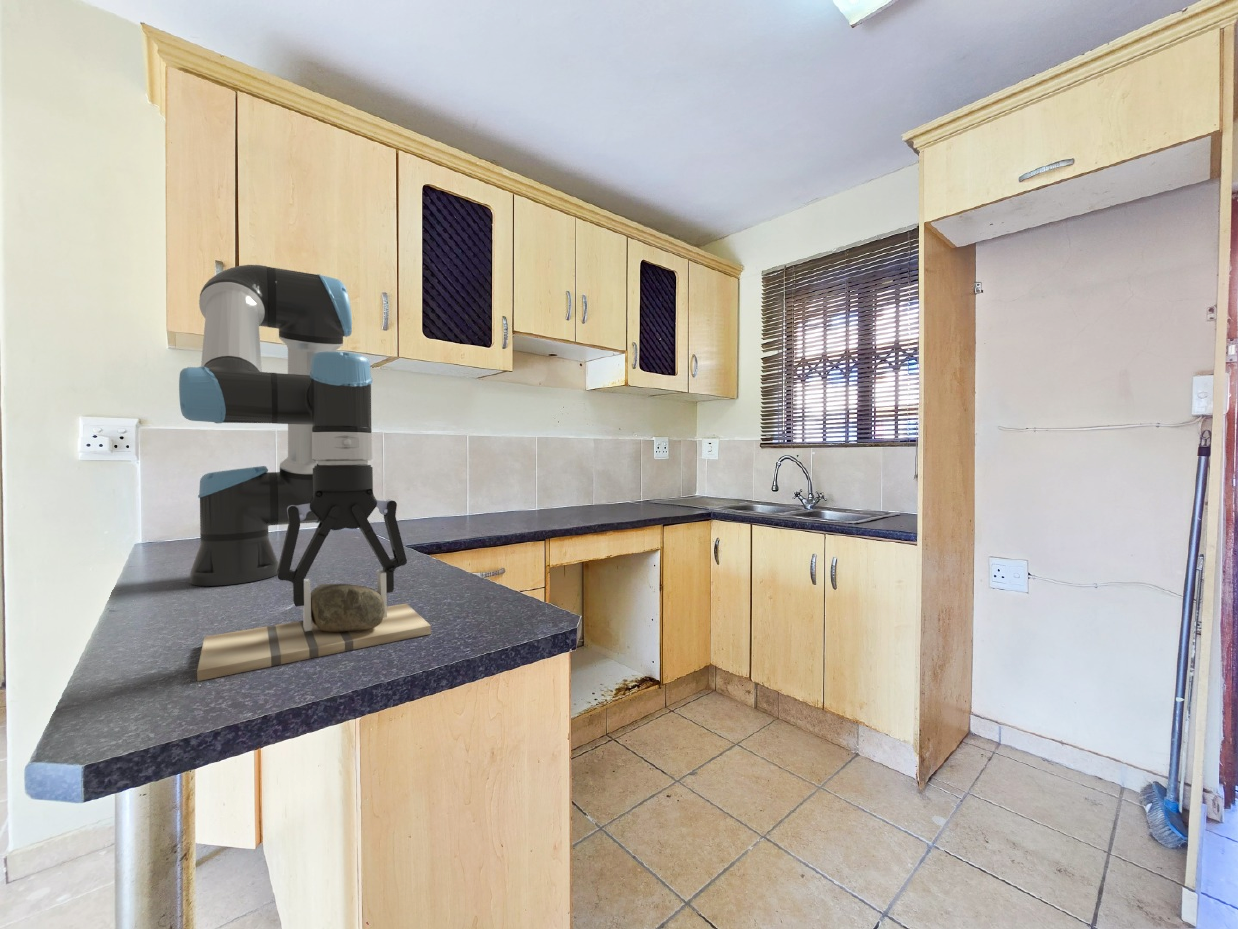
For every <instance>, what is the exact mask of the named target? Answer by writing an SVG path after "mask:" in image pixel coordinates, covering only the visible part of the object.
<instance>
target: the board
mask: <svg viewBox="0 0 1238 929" xmlns="http://www.w3.org/2000/svg"><path fill="white" fill-rule="evenodd" d="M427 635H432V625H431V624H430V623H429V622H428V621H426V619H424V618H423V617H422V616H421V615H420V614H419V613H418V612H417V611H415V610H414V608H412V607H411V606H410V605H409V604H408V603H401V604H395V605H387V617H385V618H383V620H382V622H381V623H380V624H379V625H378V626H376V627H375V628H372V629H368V630H355V631H342V632H327V631H323V630H320V629H319V628H318V627H317V626H316V625H315V624H314V622H313V621H312V619H311V630H310V631H305V630H304V627H303V620H298V621H293V622H292V621H291V622H285V623H279V624H275V625H274V624H273V625H269V626H261V627H255V628H249V629H243V630H238V631H237V630H236V631H230V632H225V633H218V634H212V635H207V636H204V637H203V638H204V639H203V643H202V648H201V652H200V657H199V661H198V665H197V670H196V674H197V676H196V677H197V678H196V680H197V682H200V681H201V682H202V681H206V680H210V679H216V678H220V677H225V676H230V675H236V674H241V673H245V672H249V671H250V672H251V671H255V670H260V669H264V668H265V669H266V668H270V667H273V666H280V665H285V664H290V663H295V662H299V661H305V660H310V659H315V658H319V657H325V656H329V655H334V654H339V653H344V652H348V651H354V650H359V649H364V648H368V647H373V646H378V645H383V644H387V643H393V642H398V641H403V640H408V639H413V638H417V637H422V636H427Z"/></svg>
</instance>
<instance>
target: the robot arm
mask: <svg viewBox="0 0 1238 929" xmlns="http://www.w3.org/2000/svg"><path fill="white" fill-rule="evenodd" d="M349 296H350V295H349V293H348V290H347V287H346V286H345V284H344V283H343V282H342V281H341V280H340V279H338V278H334V277H330V276H326V275H321V274H318V273H317V274H314V273H309V272H303V271H297V270H289V269H285V268H279V267H271V266H266V265H261V264H243V265H238V266H234V267H230V268H228V269H225V270H223V271H220V272H219V273H216V274H215V275H213V276H212V277H211V278H210V279H208V280H207V282H206V283H205V284H204V285H203V287H202V289H201V291H200V293H199V300H198V302H199V303H198V304H199V310H200V313H201V315H202V316H203V318H204V330H203V341H202V351H201V352H202V353H201V364H200V366H198V367H195V366H194V367H193V366H192V367H191V366H188V367H185V368H182V369H181V370H180V372H179V378H178V391H179V392H178V393H179V397H178V398H179V406H180V413H181V415H182V416H183V417H184V418H185V419H186V420H189V421H192V422H204V423H205V422H206V423H207V422H208V423H214V424H223V423H225V424H226V423H227V424H229V423H230V424H231V423H232V424H233V423H235V424H276V425H277V424H278V425H280V424H281V425H287V457H286V458H284V459H283V460H282V461H281V462H280V463H279V471H274V472H273V471H272V472H269V469H268V468H267V466H265V465H263V466H261V465H260V466H253V467H252V466H251V467H243V468H235V469H229V470H221V471H220V470H219V471H213V472H207V473H206V474H204V475H202V477H201V478H200V480H199V493H198V496H197V498H198V499H199V519H200V520H199V526H200V527H199V533H200V544H199V545H200V546H199V548H198V550H197V553H196V556H195V558H194V561H193V565H192V567H191V570H190V571H189V572H190V573H189V579H190V582H189V583H190V584H191V585H194V586H199V587H200V586H202V587H211V586H212V587H213V586H216V587H217V586H229V585H237V584H245V583H249V582H251V583H252V582H256V581H260V580H265V579H269V578H272V577H275V576H277V578H278V580H280V581H287V582H290V583H292V595H293V596H292V598H293V599H292V602H293V604H294V606H295V607H302V616H303V617H302V621H303V627H304V630H305V631H310V630H311V592H312V590H311V589H312V587H311V584H312V583H311V580H310V579H309V578H306V576H307V575H308V573H309V571H310V569H311V567H312V565H313V563H314V561H315V560H316V557H317V556H318V553H319V552H320V550H321V548H322V546H323V544H324V542H325V540H326V538H327V537H328V536H329V534H330V532H331V531H339V530H342V529H350V530H355V529H359V530H360V532H361V533H362V535H363V537H364V538H365V540H366V541H367V543H368V545H369V546H370V548H371V550H372V552H373V553H374V555H375V557H376V558H377V560H378V562H379V563H380V565H381V567H382V569H378V570H376V584H377V585H376V587H377V588H376V591H377V592H378V593H379V594H380V595H381V596H382V598H383V601H384V606H385V613H384V617H383V618H385V617H387V606H388V604H387V602H388V601H387V600H388V599H387V594H389V593H393V592H394V589H395V586H394V585H395V578H394V577H395V576H394V574H395V570H396V569H397V568H400V567H401V566H405V565H406V564H407V563H408V560H407V555H406V551H405V548H404V544H403V539H402V537H401V533H400V532H401V531H400V528H399V525H398V521H397V517H396V516H397V506H398V504H397V502H396V501H395V500H392V499H386V500H385V499H384V500H381V499H377V498H376V497H375V495H374V480H373V479H374V478H373V477H374V474H373V469H374V468H373V466H372V465H371V464H369V461H371V460H373V443H372V442H373V439H372V437H373V436H372V431H373V430H372V383H373V378H372V373H371V363H370V360H369V359H368V358H367V357H366V356H364V355H362V354H359V353H354V352H347V351H338V349H340V348H341V347H342V346H343V345H344V337H345V338H347V337H350V336H351V335H352V332H353V330H352V328H353V327H352V326H353V318H352V309H351V307H352V306H351V302H350V301H351V300H350V297H349ZM260 327H265V328H271V329H278V339H280V341H281V342H283V343H284V344H285V345H286V347H287V373H277V372H267V371H266V372H265V371H263V370H262V368H263V365H262V353H261V352H262V351H261V350H262V349H261V337H260V336H261V335H260ZM376 508H377V509H378V511H379V513H380V514H381V515H383V521H384V524H385V528H386V531H387V532H386V533H387V536H388V539H389V540H388V541H389V544H390V547H391V550H392V554H393V558H390V556H389V555H388V553H387V552H386V550H385V548H384V546H383V544H382V543H381V541H380V540H379V538H378V536H377V534H376V533H375V531H374V528H373V526H372V525H371V523H370V521H369V520H368V519H369V517H370V516H371V514H372V513H373V512H374V510H375V509H376ZM314 523H315V524H318V525H317V527H316V529H315V532H314V534H313V535H312V538H311V539H310V542H309V543H308V545H307V547H306V548H305V551H304V552H303V555H302V556H301V558H300V560H299V562H298V564H297V566H296V568H295V570H291V566H292V563H293V558H294V554H295V550H296V545H297V542H298V536H299V533H300V528H301V524H314ZM282 525H283V526H284V525H287V529H286V533H285V538H284V541H283V544H282V545H283V546H282V550H281V553H280V554H281V555H280V558H279V560H278V558H277V555H276V553H275V551H274V548H273V546H272V543H271V542H270V537H269V535H270V534H269V526H282Z"/></svg>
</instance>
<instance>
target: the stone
mask: <svg viewBox="0 0 1238 929" xmlns="http://www.w3.org/2000/svg"><path fill="white" fill-rule="evenodd" d="M384 613H385V606H384V601H383V598H382V596H381V595H380V594H379V593H378V592H377V590H376V589H373V588H371V587H369V586H363V585H357V584H356V585H355V584H347V583H324V584H319V585H318V586H316V587H314V588H313V589H312V590H311V619H312V621H313V622H314V624H315V625H316V626H317V627H318V628H319V629H320V630H323V631H327V632H342V631H355V630H368V629H372V628H375V627H376V626H378V625H379V624H380V623H381V622H382V620H383V617H384Z"/></svg>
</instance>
